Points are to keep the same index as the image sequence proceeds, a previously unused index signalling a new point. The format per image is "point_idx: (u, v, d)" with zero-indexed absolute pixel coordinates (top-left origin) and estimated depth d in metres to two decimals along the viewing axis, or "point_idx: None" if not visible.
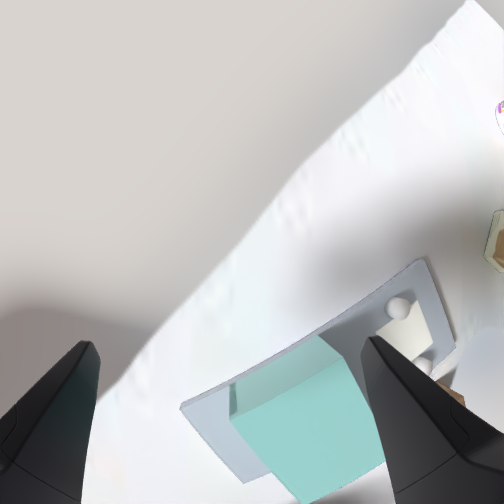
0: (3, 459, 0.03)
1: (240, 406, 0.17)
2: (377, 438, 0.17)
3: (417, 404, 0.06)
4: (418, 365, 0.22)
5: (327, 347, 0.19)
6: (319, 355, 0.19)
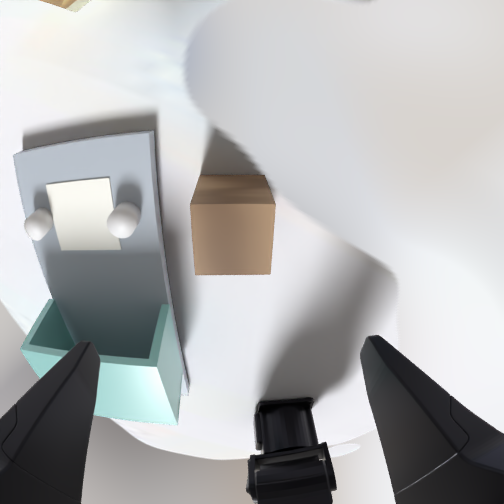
0: (3, 459, 0.03)
1: None
2: (113, 368, 0.16)
3: (417, 404, 0.06)
4: None
5: None
6: None
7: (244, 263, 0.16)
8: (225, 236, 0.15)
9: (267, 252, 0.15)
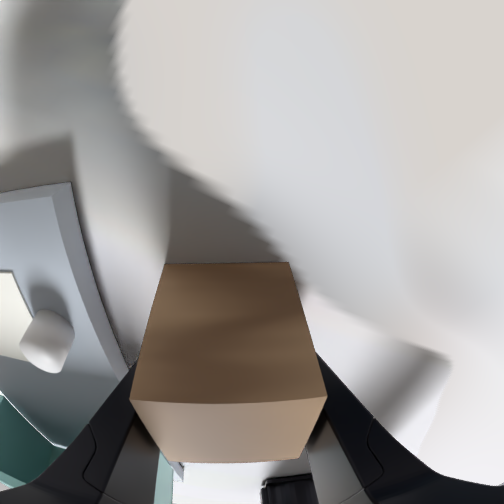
0: (89, 492, 0.03)
1: None
2: None
3: (329, 424, 0.06)
4: None
5: None
6: None
7: (254, 455, 0.07)
8: (216, 436, 0.06)
9: (297, 444, 0.07)
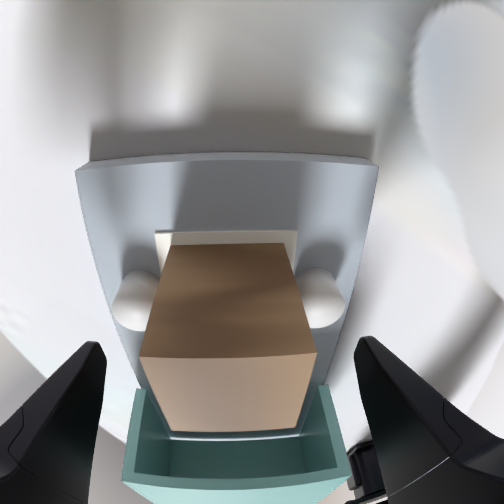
0: (10, 463, 0.03)
1: None
2: (288, 488, 0.10)
3: (409, 406, 0.06)
4: None
5: None
6: None
7: (252, 421, 0.08)
8: (217, 398, 0.07)
9: (293, 409, 0.08)
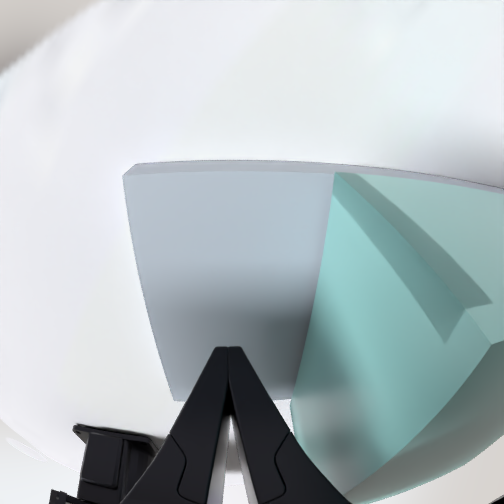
0: None
1: (481, 276, 0.03)
2: (494, 440, 0.07)
3: (240, 432, 0.06)
4: None
5: None
6: None
7: None
8: None
9: None
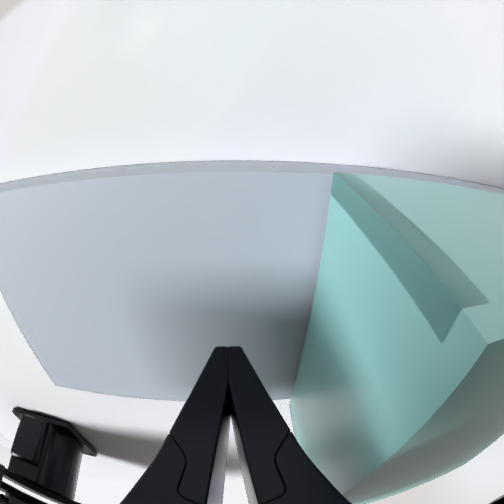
0: None
1: (479, 276, 0.03)
2: (493, 440, 0.07)
3: (240, 432, 0.06)
4: None
5: None
6: None
7: None
8: None
9: None
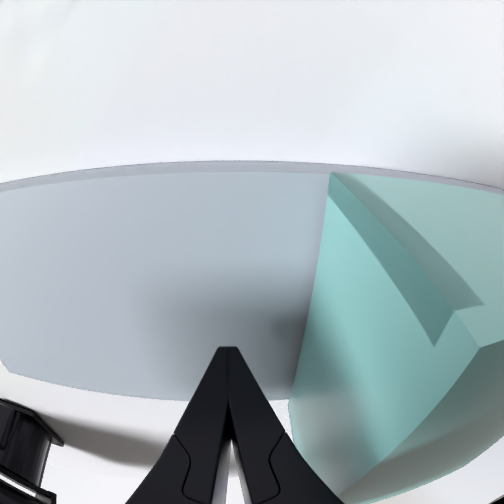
0: None
1: (473, 277, 0.03)
2: (492, 443, 0.07)
3: (234, 433, 0.06)
4: None
5: None
6: None
7: None
8: None
9: None
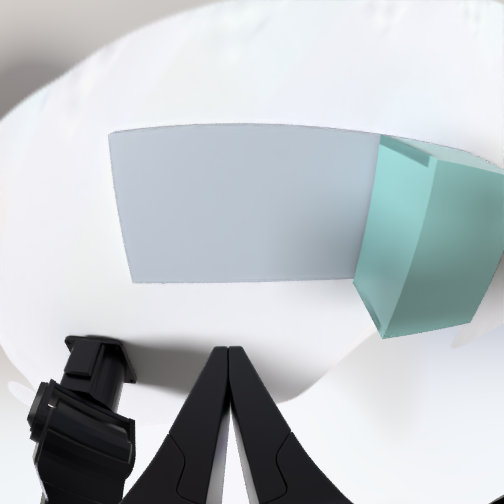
0: None
1: (436, 155, 0.12)
2: (482, 290, 0.15)
3: (240, 432, 0.06)
4: None
5: (497, 166, 0.13)
6: (495, 166, 0.13)
7: None
8: None
9: None
